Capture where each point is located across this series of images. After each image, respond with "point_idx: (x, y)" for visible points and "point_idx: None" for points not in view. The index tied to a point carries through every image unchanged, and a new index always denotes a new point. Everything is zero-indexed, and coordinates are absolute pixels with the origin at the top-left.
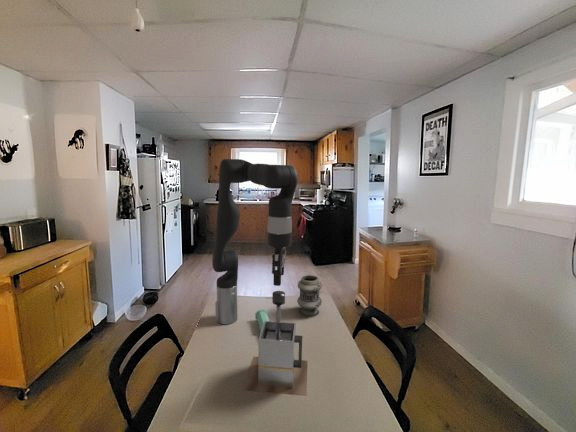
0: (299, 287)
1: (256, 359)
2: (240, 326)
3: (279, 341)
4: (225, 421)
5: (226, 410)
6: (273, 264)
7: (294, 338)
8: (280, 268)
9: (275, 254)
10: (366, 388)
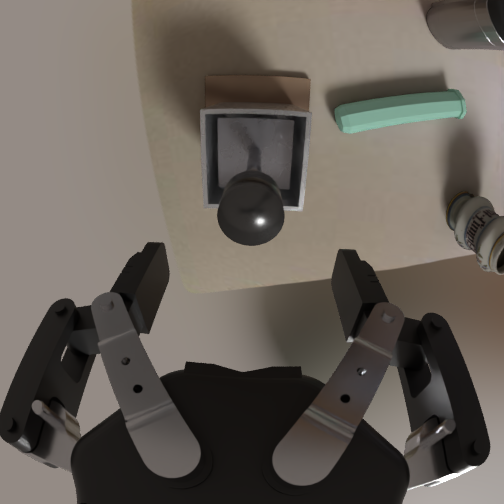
0: (498, 220)
1: (300, 86)
2: (425, 51)
3: (202, 169)
4: (147, 70)
5: (166, 62)
6: (27, 365)
7: None
8: (69, 374)
9: (17, 447)
10: (244, 277)
